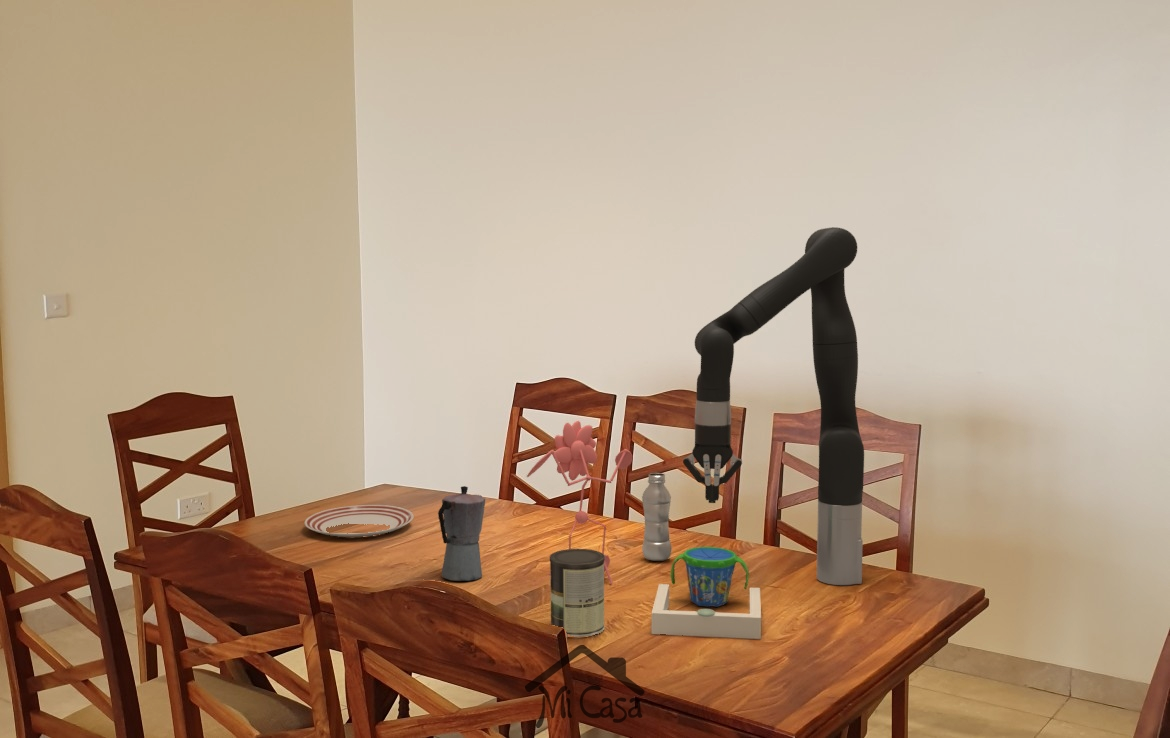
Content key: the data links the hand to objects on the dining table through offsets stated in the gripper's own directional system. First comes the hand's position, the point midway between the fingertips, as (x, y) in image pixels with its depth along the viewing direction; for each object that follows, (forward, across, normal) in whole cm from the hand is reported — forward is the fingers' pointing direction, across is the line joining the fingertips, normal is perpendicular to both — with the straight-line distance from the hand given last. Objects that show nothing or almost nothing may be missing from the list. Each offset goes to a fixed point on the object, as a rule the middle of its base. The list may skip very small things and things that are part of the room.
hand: (711, 502), depth 232 cm
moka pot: (+18, +54, +3) cm, 57 cm away
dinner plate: (+18, +91, -35) cm, 99 cm away
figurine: (+18, +29, +3) cm, 34 cm away
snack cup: (+18, 0, +13) cm, 22 cm away
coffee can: (+18, +24, +32) cm, 44 cm away
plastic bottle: (+18, +13, -16) cm, 27 cm away
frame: (+18, 0, +24) cm, 30 cm away
